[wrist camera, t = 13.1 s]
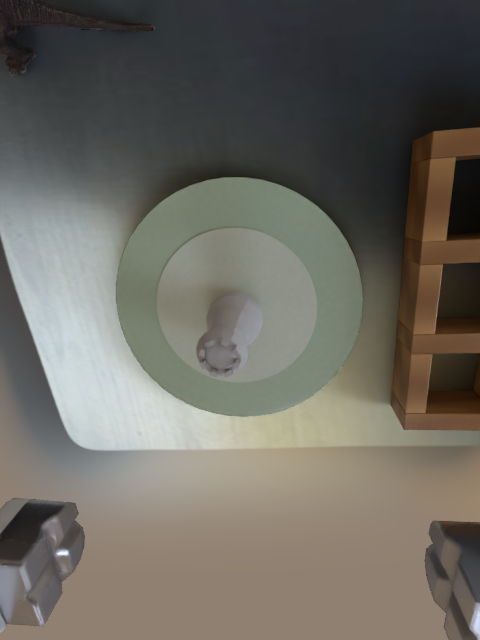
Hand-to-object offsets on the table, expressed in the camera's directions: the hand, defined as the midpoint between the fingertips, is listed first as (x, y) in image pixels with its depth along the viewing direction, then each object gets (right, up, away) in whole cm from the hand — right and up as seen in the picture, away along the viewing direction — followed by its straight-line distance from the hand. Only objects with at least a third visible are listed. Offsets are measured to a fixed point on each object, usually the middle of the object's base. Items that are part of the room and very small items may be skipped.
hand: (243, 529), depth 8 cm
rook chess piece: (0, +5, +20) cm, 21 cm away
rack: (+16, +7, +19) cm, 26 cm away
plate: (0, +6, +21) cm, 22 cm away
